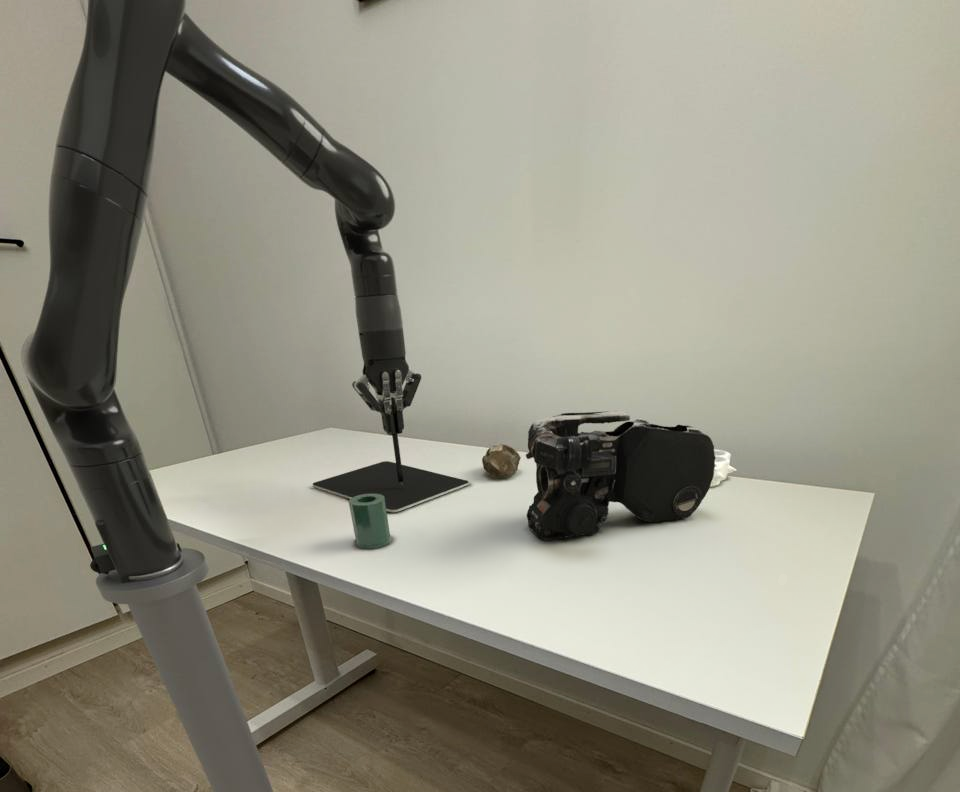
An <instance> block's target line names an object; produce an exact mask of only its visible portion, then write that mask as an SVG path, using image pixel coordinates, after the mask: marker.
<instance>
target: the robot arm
mask: <svg viewBox="0 0 960 792" xmlns="http://www.w3.org/2000/svg"><path fill="white" fill-rule="evenodd" d="M186 6H187V0H87V12H86V24H85V25H86V27H85V35H84V40H83V45H82V50H81V54H80V57H79V61H78V63H77V67H76V69H75V72H74V75H73V80H72V82H71V85H70V87H69V91H68V94H67V98H66V100H65V104H64V109H63V112H62V116H61V119H60V124H59V127H58V132H57V137H56V142H55V148H54V156H53V161H52V168H51V173H50V174H51V175H50V181H49V192H48V243H49V244H48V245H49V274H48V281H47V287H46V292H45V294H44V299H43V304H42V307H41V311H40V315H39V318H38V322H37V324H36V328H35V330H34V331H33V332H31V333H30V334H28V336H27V337H26V338H25V339H24V341H23V343H22V346H21V350H20V362H21V366H22V369H23V371H24V374H25V376H26V377H25V378H26V379H27V381H28V384H29V385H30V388H31V390H32V392H33V394H34V396H35V398H36V400H37V403H38V405H39V407H40V409H41V412H42V414H43V415H44V418H45V420H46V423H47V424H48V426H49V429H50V431H51V433H52V435H53V437H54V440H55V442H56V443H57V445H58V447H59V448H60V450H61V453H62V454H63V456H64V458H65V461H66V464H68V467H69V469H70V471H71V473H72V476H73V478H74V480H75V482H76V484H77V487H78V489H79V491H80V493H81V496H82V498H83V500H84V502H85V505H86V507H87V509H88V511H89V513H90V516H91V518H92V520H93V523H94V525H95V527H96V530H97V531H98V534H99V536H100V539H101V541H102V542H103V543H100V544H96V545H93V546H90V550H91V552H92V555H93V558H92V560H91V562H90V564H89V567H90V569H91V571H93V572H94V573H97V574H100V573H102V574H108V573H109V571H113V570H116V573H117V575H118V577H119V578H120V580H121V582H122V583H127V582H132V581H144V580H150V579H154V578H158V577H161V576H164V575H167V574H169V573H171V572H173V571H175V570H177V569H178V568H179V567H181V566H182V565H183V563H184V559H183V557H182V554H181V553H180V551H181V548H182V547H181V545H180V543H178V542H177V541H176V537H175V535H174V532H173V529H172V526H171V524H170V522H169V518H168V516H167V514H166V511H165V509H164V506H163V504H162V500H161V497H160V495H159V492H158V490H157V487H156V485H155V482H154V479H153V476H152V473H151V471H150V468H149V465H148V463H147V460H146V458H145V455H144V452H143V451H142V447H141V445H140V443H139V440H138V437H137V435H136V433H135V431H134V430H133V428H132V426H131V424H130V422H129V420H128V419H127V415H125V413H124V410H123V407H122V405H121V403H120V400H119V397H118V395H117V393H116V390H115V387H116V383H117V369H118V352H119V351H118V349H119V336H120V324H121V316H122V309H123V305H124V304H123V303H124V300H125V295H126V292H127V289H128V285H129V282H130V278H131V275H132V272H133V269H134V264H135V261H136V256H137V251H138V247H139V244H140V239H141V235H142V231H143V227H144V221H145V216H146V211H147V205H148V201H149V200H148V199H149V194H150V188H151V187H150V186H151V178H152V173H153V172H152V171H153V164H154V156H155V148H156V147H155V146H156V137H157V127H158V115H159V113H158V112H159V106H160V105H159V103H160V97H161V92H162V87H163V84H164V83H163V82H164V79H165V75H166V74H168V75H170V76H171V77H172V78H174V79H176V80H177V81H179V82H180V83H181V84H183V85H184V86H185V87H187V88H188V89H190V90H191V91H192V92H194V93H195V94H196V95H198V96H199V97H201V99H203V100H205V101H206V102H207V103H209V104H210V105H211V106H213V107H214V108H215V109H216V110H218V111H219V112H220V113H222V114H223V115H224V116H225V117H227V118H228V119H229V120H230V121H232V122H233V123H235V124H236V125H237V126H238V127H240V129H242V130H243V131H245V133H247V134H248V135H249V136H250V137H251V138H253V140H255V142H257V143H258V144H259V145H260V146H262V147H263V148H264V149H265V150H266V151H267V152H268V153H269V154H271V155H272V156H273V157H274V158H275V159H276V160H277V161H278V162H280V163H281V164H282V165H283V166H284V167H285V168H286V169H287V170H288V171H290V172H291V173H292V174H293V175H294V176H295V177H296V178H298V179H299V180H300V181H301V182H302V183H303V184H305V185H306V186H307V187H309V188H311V189H312V190H316V191H321V192H324V193H326V194H328V195H329V196H331V197H332V198H333V199H334V214H335V220H336V223H337V224H336V225H337V230H338V232H339V235H340V238H341V241H342V245H343V248H344V251H345V254H346V256H347V260H348V262H349V265H350V273H351V280H352V288H353V294H354V302H355V304H354V305H355V318H356V322H357V323H356V324H357V331H358V338H359V344H360V350H361V356H362V357H361V358H362V361H363V368H362V375H361V376H360V378H358V380H356V381H355V380H354V381H353V382H352V384H351V386H352V388H353V389H354V391H355V392H356V393H357V394H358V396H359V397H360V399H362V400H363V402H364V403H365V404H366V406H367V407H368V408H369V409H370V410H371V411H373V412H377V413H380V416H381V422H382V429H383V432H385V433H386V435H388V436H392V435H395V428H394V420H393V414H391V404H393V405H394V411H395V419H396V427H397V434H398V435H399V434H403V430H404V429H405V422H404V415H403V413H404V409H406V408H408V407H411V405H412V403H413V401H414V398H415V396H416V393H417V391H418V388H419V385H420V383H421V380H422V375H421V374H420V373H416V372H414V371H413V370H411V369H410V367H409V364H408V362H407V360H406V354H407V351H406V344H405V333H404V326H403V325H404V324H403V315H402V308H401V304H400V300H399V295H398V286H397V277H396V270H395V263H394V259H393V257H392V256H391V254H390V253H389V252H387V251H385V250H384V248H383V243H382V240H381V235H380V232H379V231H381V230H383V229H385V228H386V227H388V226H389V225H390V223H392V221H393V219H394V216H395V213H396V199H395V195H394V193H393V190H392V187H391V186H390V184H389V182H388V181H387V179H386V178H385V177H384V175H382V174H381V172H380V171H379V170H378V169H377V168H376V167H374V165H373V164H371V163H370V162H369V161H368V160H366V159H364V158H363V157H362V156H360V155H359V154H358V153H356V152H355V151H353V150H352V149H351V148H349V147H348V146H346V145H344V144H343V143H341V142H339V141H338V140H336V139H335V138H334V137H333V136H332V134H330V133H329V132H328V131H327V130H326V129H325V128H324V127H323V126H322V124H321V123H319V122H318V121H317V120H316V119H315V118H314V117H313V116H312V114H311V113H309V112H308V110H306V108H304V107H303V106H302V105H301V104H300V103H299V102H298V100H296V99H295V98H294V97H292V95H290V94H289V93H288V92H287V91H285V90H284V89H282V88H281V87H280V86H279V85H277V84H276V83H275V82H273V81H271V80H270V79H268V78H267V77H265V76H263V75H262V74H260V73H259V72H257V71H256V70H253V69H252V68H250V67H249V66H247V65H245V64H244V63H243V62H241V61H239V60H238V59H236V58H235V57H234V56H233V55H231V54H229V53H228V52H227V51H226V50H225V49H223V48H222V47H220V45H218V44H217V43H216V42H215V41H214V40H213V39H211V38H210V37H209V36H208V34H206V33H205V32H204V31H203V30H202V29H201V28H200V27H199V26H198V25H197V24H196V23H195V22H194V20H193V19H192V18H191V17H190V16H189V15H188V13H186V8H187V7H186ZM404 383H405V385H404ZM403 385H404V387H403ZM370 386H371V387H372V388H373V389H374V393H375V396H374V394H372V392H371V391H370ZM181 552H182V551H181Z"/></svg>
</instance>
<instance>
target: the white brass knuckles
mask: <svg viewBox="0 0 960 792" xmlns="http://www.w3.org/2000/svg"><path fill="white" fill-rule="evenodd" d="M714 454H715V457H716V459H715V467H714V476H713V479H712V481H711V484H710V488H713V487H716V486H718V485H720V483H721V482H722V481H725V480H726V479H727V476H728V474H730V473H731V474H732V473H733V472H736V471H737V469H736V468H734V467H733V466H731V465H730V463H731V458H732V457H731V456H732V454H731V453H730V452H729V451H726V450H722V449H714Z"/></svg>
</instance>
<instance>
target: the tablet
mask: <svg viewBox="0 0 960 792" xmlns="http://www.w3.org/2000/svg"><path fill="white" fill-rule="evenodd" d="M401 466H402V473H403V487H400V482H398V475H397V468H396V462H393V461H388V460H386V461H380V462H377V463H374V464H370V465H367V466H364V467H360V468H357V469H355V470H350V471H347V472H344V473H341V474H338V475H335V476H331V477H328V478H324V479H321V480H318V481H315V482H314V481H313V483H312V487H313V488H316V489H319V490H322V491H324V492H328V493H331V494H334V495H337V496H339V497H343V498H346V499H349V500H350V499H351V498H353V497H355V496H358V495H363V494H381V495H383V496H384V498H385V505H386V511H387V513H398V512H400V511H403V510H406V509H408V508H411V507H413V506H417V505H419V504H422V503H424V502H427V501H430V500H432V499H435V498H437V497H440V496H443V495H446V494H448V493H451V492H454V491H457V490H459V489H461V488H464V487H466V486H469V480H466V479H463V478H458V477H455V476H450V475H445V474H442V473H438V472H433V471H430V470H425V469H422V468H418V467H414V466H409V465H405V464H402V463H401Z"/></svg>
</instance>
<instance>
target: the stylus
mask: <svg viewBox="0 0 960 792" xmlns="http://www.w3.org/2000/svg"><path fill="white" fill-rule="evenodd" d="M390 405H391V414H393V420H394V428H395V435H391V437H392V444H393V451H394V460H395V463H396V468H397V475H398V482H400V487H403V473H402V466H401V464H402V458H401V451H400V450H401V449H400V444H399V443H400V442H399V436H398V435H399V434H397V427H396V419H395V411H394V405H393V404H391V403H390Z"/></svg>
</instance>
